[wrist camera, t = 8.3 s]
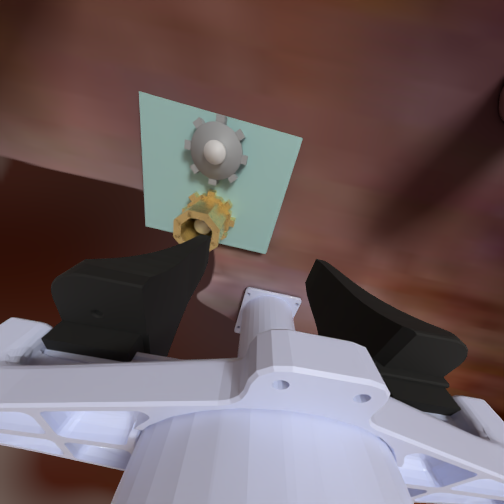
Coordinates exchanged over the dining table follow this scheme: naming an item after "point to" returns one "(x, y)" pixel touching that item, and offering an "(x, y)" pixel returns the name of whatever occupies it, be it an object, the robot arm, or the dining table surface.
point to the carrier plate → (213, 168)
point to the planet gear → (204, 218)
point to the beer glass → (501, 104)
